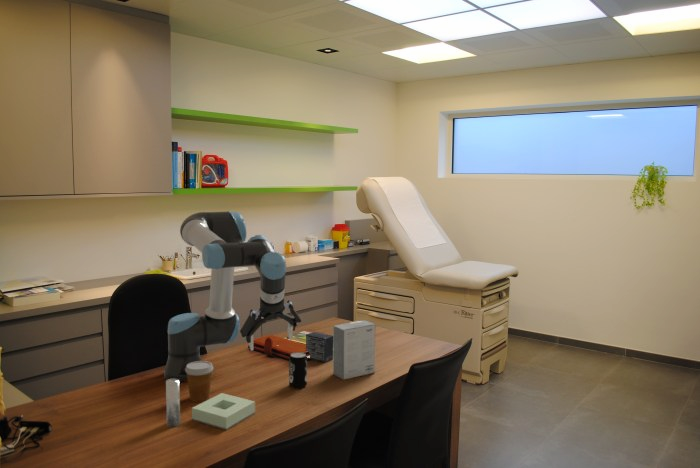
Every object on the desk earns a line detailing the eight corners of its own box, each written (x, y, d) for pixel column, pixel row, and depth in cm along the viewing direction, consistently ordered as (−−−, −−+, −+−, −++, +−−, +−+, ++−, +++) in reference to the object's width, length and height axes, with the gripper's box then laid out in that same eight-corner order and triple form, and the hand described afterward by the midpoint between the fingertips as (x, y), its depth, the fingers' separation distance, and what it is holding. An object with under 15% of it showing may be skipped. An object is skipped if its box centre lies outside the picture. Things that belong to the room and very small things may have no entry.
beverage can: (304, 390, 201) (304, 358, 199) (286, 388, 202) (286, 356, 201) (308, 383, 207) (309, 352, 206) (292, 381, 208) (292, 351, 207)
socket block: (192, 420, 175) (192, 407, 174) (221, 404, 187) (221, 392, 187) (226, 430, 168) (226, 417, 168) (255, 413, 180) (255, 401, 180)
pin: (163, 425, 171) (163, 381, 169) (173, 420, 174) (172, 377, 173) (173, 428, 169) (172, 384, 167) (182, 423, 172) (182, 379, 171)
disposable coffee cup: (188, 405, 185) (188, 371, 184) (183, 395, 194) (182, 362, 192) (216, 401, 190) (216, 367, 188) (210, 391, 198) (209, 358, 197)
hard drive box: (364, 367, 226) (365, 319, 224) (375, 373, 219) (376, 324, 217) (332, 374, 217) (332, 324, 215) (342, 380, 211) (343, 329, 209)
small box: (333, 359, 236) (334, 335, 234) (325, 363, 230) (325, 338, 229) (314, 354, 241) (314, 331, 240) (305, 358, 236) (305, 334, 235)
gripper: (236, 314, 165) (237, 360, 178) (313, 295, 175) (309, 340, 188) (229, 297, 170) (231, 343, 183) (304, 280, 180) (301, 325, 193)
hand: (270, 342), depth 185 cm, fingers open, 13 cm apart
